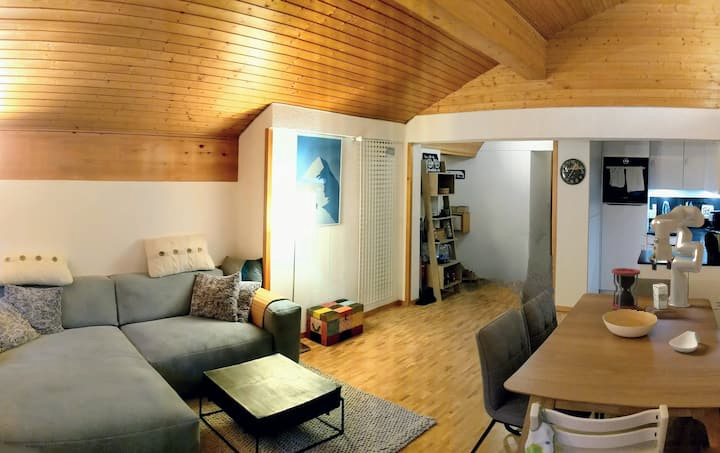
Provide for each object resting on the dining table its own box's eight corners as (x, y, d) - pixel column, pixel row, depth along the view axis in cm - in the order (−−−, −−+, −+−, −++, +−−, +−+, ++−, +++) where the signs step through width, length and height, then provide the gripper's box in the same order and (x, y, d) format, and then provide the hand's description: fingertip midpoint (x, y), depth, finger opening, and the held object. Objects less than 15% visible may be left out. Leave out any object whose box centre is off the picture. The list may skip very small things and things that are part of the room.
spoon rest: (693, 356, 247) (693, 341, 246) (665, 351, 256) (666, 336, 255) (707, 345, 263) (708, 331, 263) (681, 340, 272) (681, 326, 271)
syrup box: (662, 306, 320) (661, 282, 318) (668, 309, 314) (667, 285, 312) (653, 307, 320) (652, 283, 318) (658, 309, 314) (658, 286, 312)
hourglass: (644, 309, 334) (645, 270, 331) (631, 313, 324) (632, 273, 322) (618, 304, 346) (619, 267, 344) (606, 308, 337) (606, 270, 335)
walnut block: (645, 314, 323) (645, 306, 323) (665, 314, 322) (665, 306, 322) (654, 319, 311) (654, 311, 311) (675, 319, 311) (675, 311, 310)
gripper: (653, 242, 308) (652, 271, 309) (680, 241, 310) (679, 270, 312) (644, 241, 315) (644, 269, 317) (670, 239, 318) (669, 268, 319)
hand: (661, 269), depth 314 cm, fingers open, 9 cm apart
